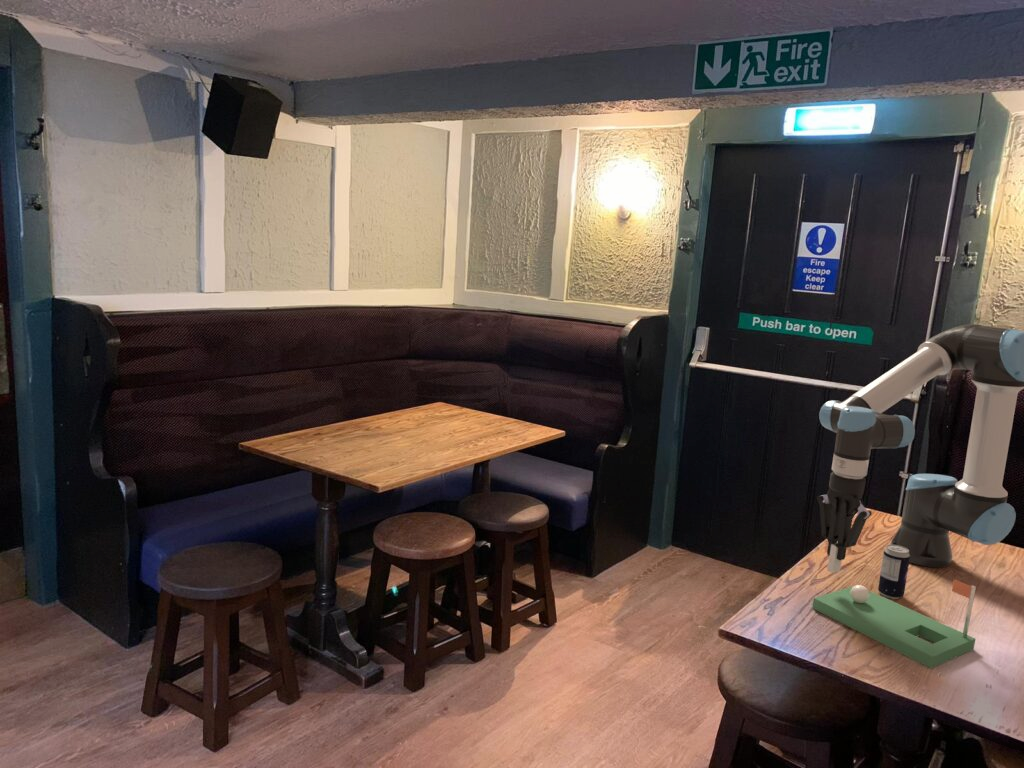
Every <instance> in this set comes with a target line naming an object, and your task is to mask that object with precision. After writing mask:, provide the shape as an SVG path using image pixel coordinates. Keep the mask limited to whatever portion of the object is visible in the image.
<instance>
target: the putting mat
mask: <svg viewBox="0 0 1024 768" xmlns="http://www.w3.org/2000/svg"><path fill="white" fill-rule="evenodd" d="M856 585H857V584H855V585H852V586H849V587H846V588H843V589H839V590H836V591H833V592H830V593H829V592H828V593H826V594H823V595H819V596H816V597H813V600H812V609H813V610H815V611H817V612H819V613H821V614H823V615H824V616H827V617H829V618H831V619H833V620H834V621H837V622H839V623H840V624H842V625H844V626H847V627H849V628H851V629H852V630H855V631H856V632H858V633H860V634H863V635H864V636H866V637H868V638H871V639H872V640H874V641H876V642H879V643H880V644H882V645H884V646H887V647H888V648H890V649H893V650H894V651H896V652H899V653H900V654H902V655H904V656H905V657H908V658H910V659H911V660H913V661H916V662H917V663H920V664H922V665H923V666H926V667H928V668H930V669H932V668H935V667H937V666H939V665H941V664H944V663H946V662H948V661H951V660H953V659H955V658H957V657H960V656H962V655H964V654H967V653H969V652H971V651H974V649H975V644H976V638H975V637H973V636H970V635H969V634H967V638H964V637H962V636H963V631H960V630H958V629H956V628H953V627H952V626H951V627H950V626H948V625H946V624H944V623H942V622H939V621H937V620H935V619H933V618H930V617H928V616H926V615H924V614H921V613H919V612H917V611H916V610H913V609H911V608H910V607H909V608H908V607H906V606H905V605H902V604H901V603H900V604H899V603H897V602H895V601H893V600H891V599H890V598H887V597H885V596H883V595H880V594H878V593H875V592H873V591H871V590H869V589H868V591H869V599H868V600H867V601H866V602H864V603H857V602H855V601H854V600H853V599H852V598H851V595H850V591H851V589H852V588H853V587H854V586H856ZM921 637H922V638H921ZM923 638H924V639H923ZM925 639H926V640H925ZM927 640H928V641H927ZM929 641H930V642H929ZM931 642H932V643H931Z"/></svg>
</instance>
